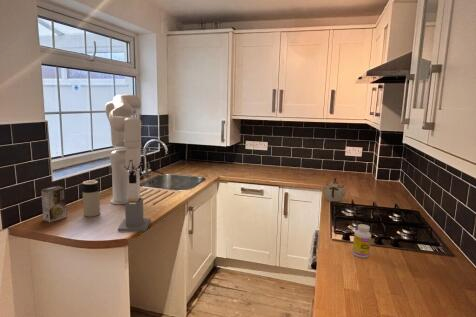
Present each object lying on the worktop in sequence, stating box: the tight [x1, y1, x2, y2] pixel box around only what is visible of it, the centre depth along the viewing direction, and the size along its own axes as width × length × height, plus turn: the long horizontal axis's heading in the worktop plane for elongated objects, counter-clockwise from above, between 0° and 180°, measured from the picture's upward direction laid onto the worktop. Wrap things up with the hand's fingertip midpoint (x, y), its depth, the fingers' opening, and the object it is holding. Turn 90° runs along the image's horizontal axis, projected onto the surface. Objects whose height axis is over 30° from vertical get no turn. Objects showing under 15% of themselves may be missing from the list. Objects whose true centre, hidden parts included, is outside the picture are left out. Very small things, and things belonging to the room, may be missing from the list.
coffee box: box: [40, 185, 68, 223], centre depth 161 cm, size 9×6×16 cm
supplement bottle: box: [352, 223, 372, 259], centre depth 134 cm, size 7×7×13 cm
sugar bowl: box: [322, 177, 347, 202], centre depth 209 cm, size 20×15×15 cm
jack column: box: [127, 168, 141, 202], centre depth 153 cm, size 5×5×20 cm
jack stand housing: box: [117, 197, 151, 233], centre depth 155 cm, size 13×13×14 cm
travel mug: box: [81, 179, 101, 218], centre depth 169 cm, size 8×8×18 cm
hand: (133, 181), depth 152 cm, fingers closed on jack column, 4 cm apart
